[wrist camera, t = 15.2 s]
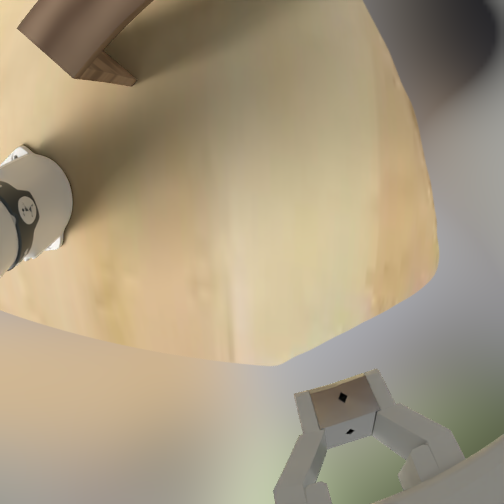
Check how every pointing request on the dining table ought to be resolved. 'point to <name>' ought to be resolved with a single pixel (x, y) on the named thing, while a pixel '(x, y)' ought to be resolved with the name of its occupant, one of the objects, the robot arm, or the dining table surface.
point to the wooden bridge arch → (82, 35)
